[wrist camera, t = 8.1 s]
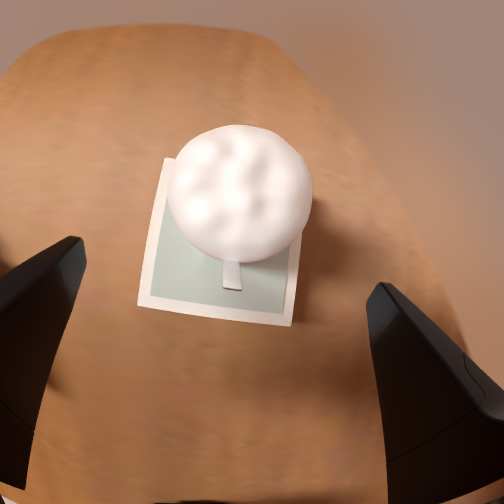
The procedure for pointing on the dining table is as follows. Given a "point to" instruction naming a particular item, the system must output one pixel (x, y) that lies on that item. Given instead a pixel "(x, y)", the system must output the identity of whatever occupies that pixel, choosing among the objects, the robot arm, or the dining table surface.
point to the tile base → (212, 275)
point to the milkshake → (239, 196)
